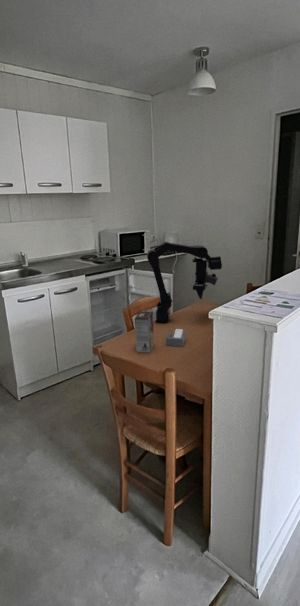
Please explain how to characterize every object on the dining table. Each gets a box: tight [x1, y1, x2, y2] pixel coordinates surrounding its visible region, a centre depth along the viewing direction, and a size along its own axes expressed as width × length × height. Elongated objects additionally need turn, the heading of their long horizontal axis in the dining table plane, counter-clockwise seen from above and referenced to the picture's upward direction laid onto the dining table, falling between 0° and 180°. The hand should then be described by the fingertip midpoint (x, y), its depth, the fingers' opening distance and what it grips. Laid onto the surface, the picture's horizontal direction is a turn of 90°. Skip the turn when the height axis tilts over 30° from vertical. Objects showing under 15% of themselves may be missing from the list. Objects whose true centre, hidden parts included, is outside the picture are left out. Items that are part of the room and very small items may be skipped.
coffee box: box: [134, 311, 155, 353], centre depth 159 cm, size 9×6×16 cm
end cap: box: [165, 330, 187, 348], centre depth 166 cm, size 8×8×4 cm
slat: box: [173, 328, 184, 338], centre depth 170 cm, size 4×12×3 cm, turn 170°
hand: (200, 298), depth 191 cm, fingers closed
